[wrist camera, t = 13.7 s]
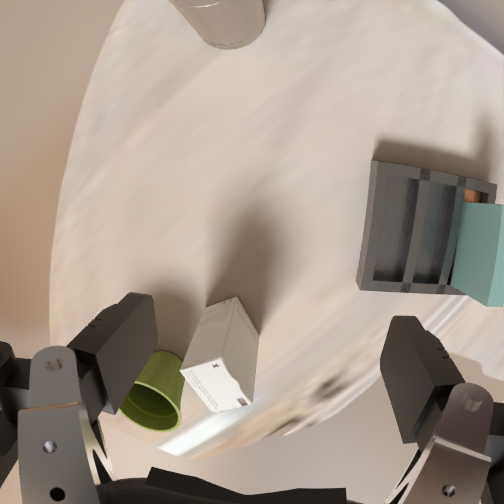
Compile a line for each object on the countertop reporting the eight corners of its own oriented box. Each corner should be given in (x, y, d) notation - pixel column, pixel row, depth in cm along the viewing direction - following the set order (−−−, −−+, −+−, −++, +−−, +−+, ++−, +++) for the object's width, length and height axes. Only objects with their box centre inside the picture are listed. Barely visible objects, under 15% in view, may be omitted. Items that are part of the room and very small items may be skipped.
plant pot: (130, 336, 51) (100, 374, 40) (193, 341, 49) (172, 386, 39) (145, 385, 54) (123, 425, 44) (203, 392, 53) (187, 437, 42)
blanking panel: (461, 202, 36) (502, 204, 26) (476, 205, 36) (517, 208, 26) (450, 285, 38) (486, 306, 28) (465, 286, 38) (502, 306, 28)
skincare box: (204, 306, 47) (173, 367, 33) (239, 293, 45) (219, 355, 31) (229, 348, 49) (209, 415, 35) (263, 338, 47) (253, 406, 33)
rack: (371, 160, 37) (377, 161, 34) (487, 182, 36) (498, 184, 33) (355, 281, 43) (359, 290, 40) (466, 287, 41) (474, 295, 38)
